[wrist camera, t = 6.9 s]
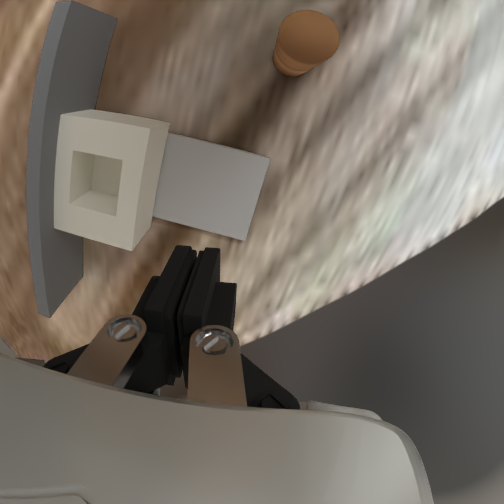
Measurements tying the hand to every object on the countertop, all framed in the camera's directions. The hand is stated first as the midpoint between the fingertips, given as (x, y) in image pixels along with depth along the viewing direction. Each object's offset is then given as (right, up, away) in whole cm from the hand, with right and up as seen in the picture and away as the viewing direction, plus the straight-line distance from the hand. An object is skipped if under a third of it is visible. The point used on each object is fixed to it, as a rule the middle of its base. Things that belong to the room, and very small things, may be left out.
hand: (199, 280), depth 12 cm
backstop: (-6, +8, +15) cm, 18 cm away
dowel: (+5, +17, +10) cm, 20 cm away
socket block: (-10, +9, +14) cm, 19 cm away
